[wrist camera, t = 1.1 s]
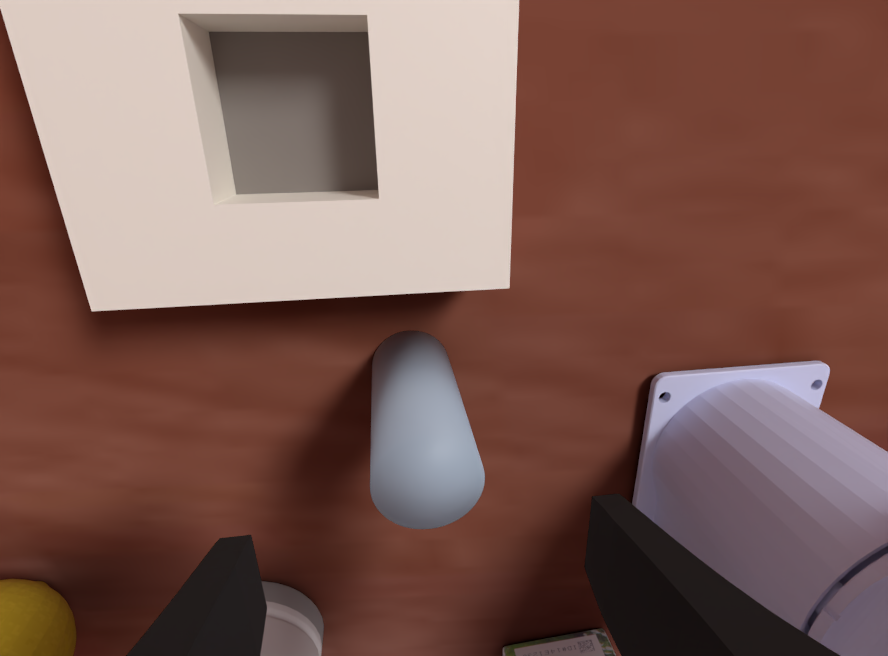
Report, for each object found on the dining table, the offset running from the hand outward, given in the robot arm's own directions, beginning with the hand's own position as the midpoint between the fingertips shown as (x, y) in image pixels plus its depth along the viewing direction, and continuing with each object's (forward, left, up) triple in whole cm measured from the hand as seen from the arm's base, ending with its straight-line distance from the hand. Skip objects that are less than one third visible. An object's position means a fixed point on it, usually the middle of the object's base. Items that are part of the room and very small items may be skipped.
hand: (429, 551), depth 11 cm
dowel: (0, 0, -10) cm, 10 cm away
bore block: (+9, +3, -9) cm, 13 cm away
